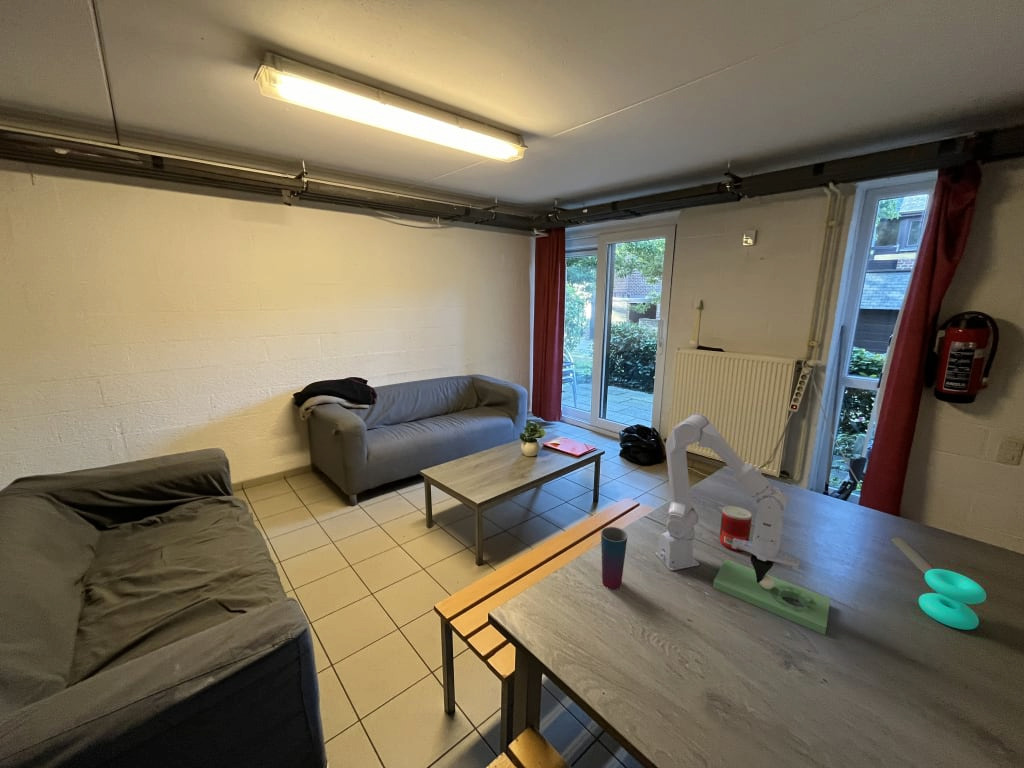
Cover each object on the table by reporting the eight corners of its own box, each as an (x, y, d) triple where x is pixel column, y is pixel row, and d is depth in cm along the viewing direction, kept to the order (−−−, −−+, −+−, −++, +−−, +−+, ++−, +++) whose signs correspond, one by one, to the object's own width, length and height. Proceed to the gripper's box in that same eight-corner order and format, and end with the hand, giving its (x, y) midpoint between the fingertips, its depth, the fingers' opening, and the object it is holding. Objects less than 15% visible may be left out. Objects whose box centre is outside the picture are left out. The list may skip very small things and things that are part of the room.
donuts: (943, 563, 102) (998, 590, 92) (934, 597, 104) (988, 627, 95) (915, 570, 99) (969, 599, 90) (907, 605, 101) (959, 637, 92)
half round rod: (905, 543, 127) (906, 538, 127) (949, 585, 109) (950, 579, 108) (888, 541, 128) (890, 536, 128) (929, 582, 110) (930, 576, 110)
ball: (757, 588, 104) (772, 588, 102) (754, 573, 106) (769, 573, 104) (763, 590, 106) (777, 590, 104) (760, 575, 108) (774, 575, 106)
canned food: (752, 552, 122) (756, 519, 120) (723, 549, 123) (727, 516, 121) (742, 538, 129) (746, 507, 127) (715, 536, 131) (719, 504, 129)
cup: (595, 586, 109) (597, 537, 106) (602, 571, 115) (604, 524, 111) (621, 595, 106) (624, 544, 102) (627, 579, 112) (630, 530, 108)
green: (712, 587, 108) (713, 580, 108) (724, 564, 117) (725, 558, 117) (825, 635, 93) (826, 627, 92) (828, 605, 102) (830, 598, 101)
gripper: (731, 531, 105) (725, 576, 107) (799, 554, 95) (790, 603, 98) (738, 519, 110) (732, 563, 113) (802, 540, 100) (794, 587, 103)
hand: (759, 581), depth 106 cm, fingers closed, pressing on ball
